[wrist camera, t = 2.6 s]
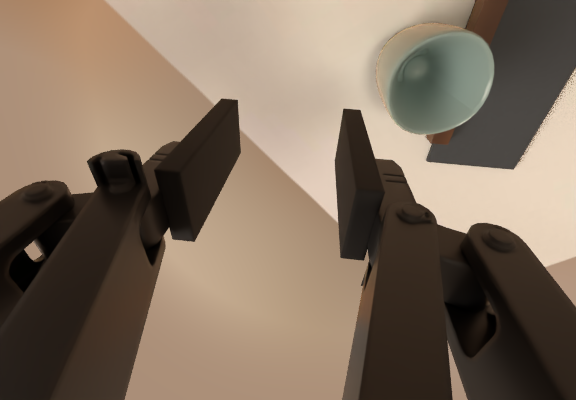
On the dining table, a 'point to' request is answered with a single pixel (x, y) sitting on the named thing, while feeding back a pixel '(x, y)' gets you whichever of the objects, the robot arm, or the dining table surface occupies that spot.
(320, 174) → the dining table surface
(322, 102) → the dining table surface
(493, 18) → the stop bar
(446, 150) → the mat
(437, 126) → the cup
